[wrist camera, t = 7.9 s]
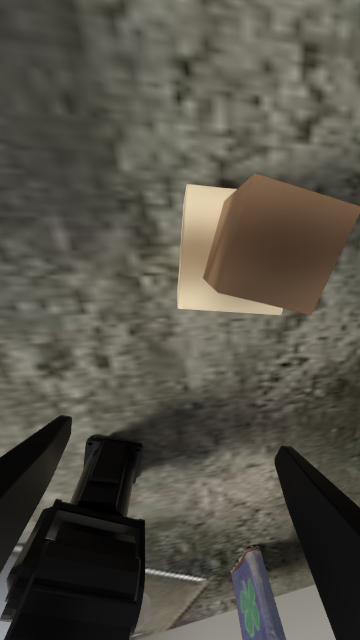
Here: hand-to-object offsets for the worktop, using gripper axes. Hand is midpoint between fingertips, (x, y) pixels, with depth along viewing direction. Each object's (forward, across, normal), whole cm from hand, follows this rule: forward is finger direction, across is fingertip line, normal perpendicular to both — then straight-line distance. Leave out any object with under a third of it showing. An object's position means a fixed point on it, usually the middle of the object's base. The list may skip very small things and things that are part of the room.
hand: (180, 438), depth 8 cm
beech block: (+12, -3, -8) cm, 15 cm away
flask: (+12, -20, +38) cm, 45 cm away
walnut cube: (+8, -3, -8) cm, 12 cm away
